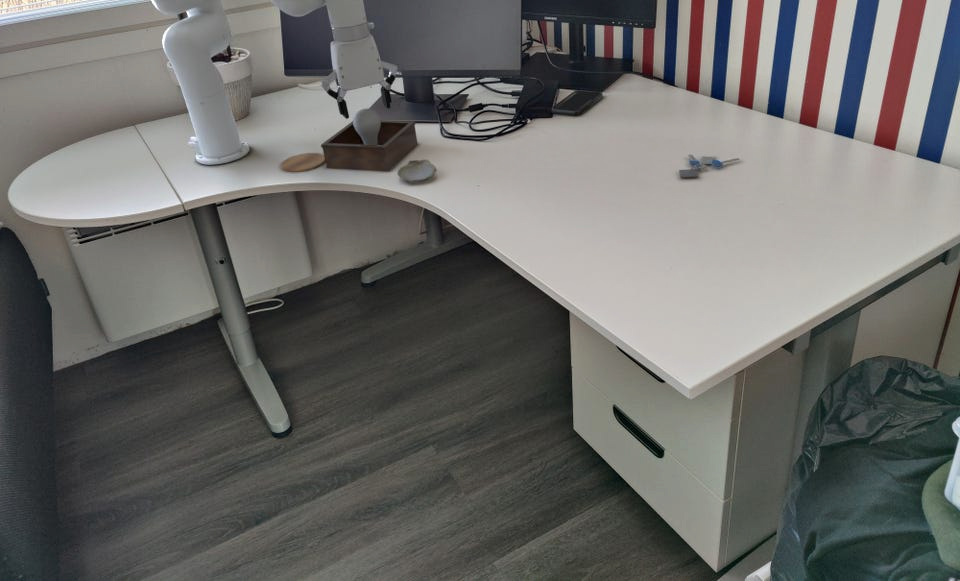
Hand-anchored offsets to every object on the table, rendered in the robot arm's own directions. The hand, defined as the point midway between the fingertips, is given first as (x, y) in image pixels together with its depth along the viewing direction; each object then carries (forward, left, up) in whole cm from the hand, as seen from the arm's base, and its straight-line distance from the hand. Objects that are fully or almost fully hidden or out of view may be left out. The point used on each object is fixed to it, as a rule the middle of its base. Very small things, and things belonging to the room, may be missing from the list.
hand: (366, 111), depth 164 cm
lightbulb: (0, 0, -11) cm, 11 cm away
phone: (+39, +37, -11) cm, 54 cm away
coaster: (-15, -6, -10) cm, 20 cm away
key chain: (+72, +3, -11) cm, 72 cm away
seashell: (+16, -10, -11) cm, 21 cm away
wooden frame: (0, 0, -10) cm, 10 cm away
